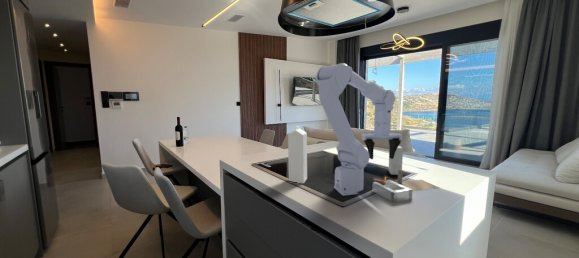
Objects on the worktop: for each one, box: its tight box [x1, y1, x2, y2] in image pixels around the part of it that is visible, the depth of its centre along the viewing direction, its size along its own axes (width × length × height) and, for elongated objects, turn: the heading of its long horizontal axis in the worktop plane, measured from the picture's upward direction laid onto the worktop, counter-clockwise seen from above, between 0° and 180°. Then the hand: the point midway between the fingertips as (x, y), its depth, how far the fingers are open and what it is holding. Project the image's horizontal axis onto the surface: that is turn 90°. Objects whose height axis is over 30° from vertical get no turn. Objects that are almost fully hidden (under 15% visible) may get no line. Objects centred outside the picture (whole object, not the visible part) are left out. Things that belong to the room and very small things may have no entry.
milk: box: [287, 124, 308, 184], centre depth 97 cm, size 6×6×22 cm
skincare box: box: [388, 145, 404, 176], centre depth 103 cm, size 6×4×12 cm
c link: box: [371, 179, 414, 203], centre depth 80 cm, size 10×7×4 cm
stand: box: [395, 169, 440, 192], centre depth 88 cm, size 14×9×7 cm, turn 102°
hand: (381, 158), depth 93 cm, fingers open, 7 cm apart
